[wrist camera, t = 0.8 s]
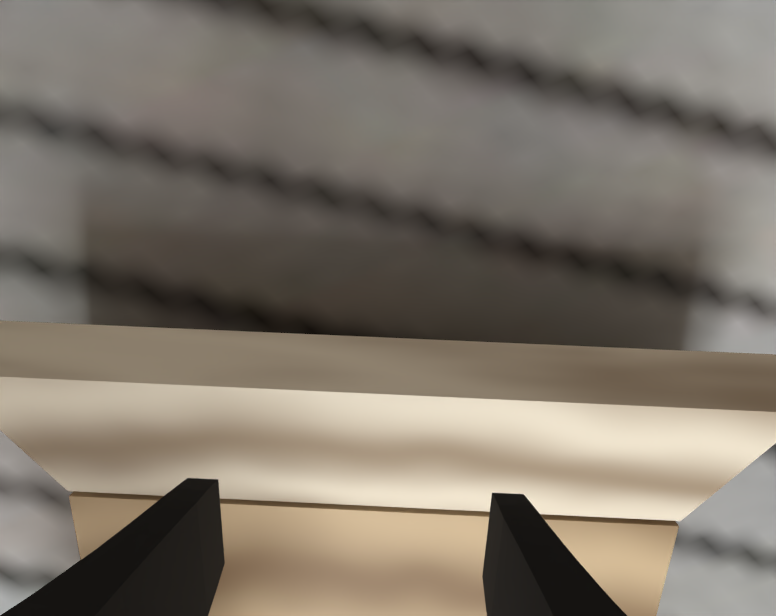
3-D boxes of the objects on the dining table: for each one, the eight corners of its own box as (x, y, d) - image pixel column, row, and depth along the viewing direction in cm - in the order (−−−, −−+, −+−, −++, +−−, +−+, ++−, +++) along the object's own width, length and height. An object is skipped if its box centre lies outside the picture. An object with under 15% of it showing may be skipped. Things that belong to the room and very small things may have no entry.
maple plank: (663, 471, 21) (680, 521, 20) (89, 444, 21) (67, 490, 20) (776, 354, 15) (811, 413, 14) (-20, 320, 15) (-62, 374, 14)
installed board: (621, 634, 24) (640, 676, 22) (120, 608, 24) (96, 647, 23) (658, 478, 21) (682, 511, 20) (95, 452, 22) (66, 481, 20)
